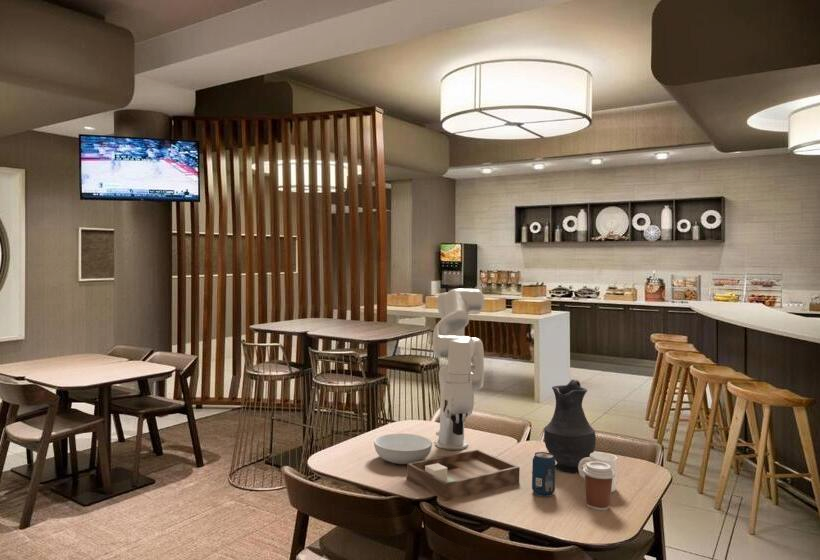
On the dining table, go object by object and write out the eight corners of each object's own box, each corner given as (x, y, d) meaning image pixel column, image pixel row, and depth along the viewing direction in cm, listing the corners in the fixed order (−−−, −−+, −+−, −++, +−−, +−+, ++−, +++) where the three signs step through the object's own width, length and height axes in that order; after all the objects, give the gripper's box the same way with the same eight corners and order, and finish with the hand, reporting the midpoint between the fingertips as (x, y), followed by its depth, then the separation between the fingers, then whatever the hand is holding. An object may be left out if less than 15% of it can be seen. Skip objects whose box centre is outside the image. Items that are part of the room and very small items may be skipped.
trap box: (477, 463, 204) (477, 449, 204) (519, 482, 187) (519, 467, 187) (406, 478, 188) (407, 463, 188) (445, 501, 170) (445, 484, 170)
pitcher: (537, 471, 197) (539, 384, 197) (552, 455, 216) (554, 375, 215) (589, 481, 189) (592, 390, 189) (600, 463, 208) (602, 380, 207)
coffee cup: (607, 499, 174) (608, 460, 174) (619, 512, 165) (620, 470, 165) (577, 499, 174) (578, 460, 174) (587, 512, 165) (588, 470, 165)
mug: (574, 486, 184) (574, 454, 184) (581, 479, 191) (582, 448, 191) (612, 495, 178) (613, 462, 178) (619, 487, 185) (619, 455, 184)
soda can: (538, 487, 183) (539, 449, 183) (558, 493, 179) (559, 454, 178) (527, 493, 178) (528, 454, 177) (548, 499, 173) (549, 460, 173)
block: (424, 478, 182) (425, 465, 182) (437, 475, 185) (437, 463, 184) (434, 483, 178) (434, 470, 178) (447, 480, 180) (447, 467, 180)
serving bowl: (408, 474, 192) (408, 454, 192) (361, 461, 205) (362, 442, 205) (443, 459, 209) (443, 440, 208) (397, 447, 221) (398, 429, 221)
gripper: (469, 373, 193) (468, 427, 194) (433, 378, 185) (432, 434, 185) (484, 377, 187) (483, 433, 187) (447, 382, 178) (446, 441, 179)
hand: (457, 433), depth 186 cm, fingers closed
